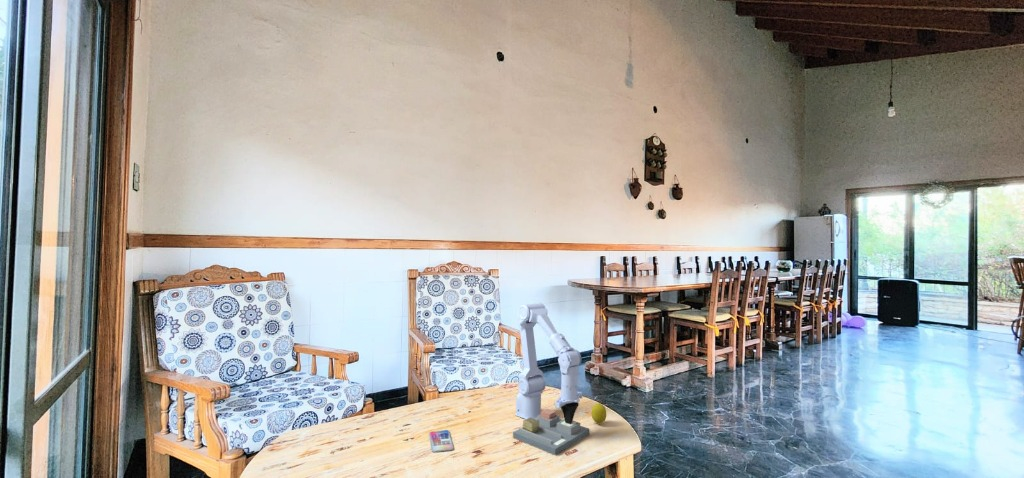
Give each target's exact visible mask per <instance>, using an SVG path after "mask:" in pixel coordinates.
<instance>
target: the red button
mask: <svg viewBox="0 0 1024 478" xmlns="http://www.w3.org/2000/svg"><path fill="white" fill-rule="evenodd" d="M556 415H557V412H556V411H555V410H552V409H549V408H545V409H544V410H541V417H543V418H546V419H549V420H550V419H552V418H554V417H556Z"/></svg>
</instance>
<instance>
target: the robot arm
mask: <svg viewBox="0 0 1024 478" xmlns="http://www.w3.org/2000/svg"><path fill="white" fill-rule="evenodd" d="M517 318H518V325H519V335H520V343H521V353H522V362H523V370H522V371H521V372H520V373H519V374H518V390H519V392H518V393H517V395H516V401H515V406H516V407H515V409H516V410H515V413H514V416H516V417H519V418H522V419H524V420H525V419H528V418H530V417H531V418H534V419H537V416H538V415H540V414H541V411H542V394H543V393H544V392H543V391H544V390H546V387H547V384H546V383H547V382H546V380H545V377H544V372H543V371H542V370H541V369H540V368H539V367H538V360H537V351H536V342H535V332H534V327H535V326H536V324H538V325H539V326H540V328H541V329H542V330H543V332H544V333H546V335H547V336H548V337H549V340H548V341H549V345H550V346H551V348H552V349H553V350H554V352H555V354H556V356H557V357H558V358H557V361H558V365H559V371H560V373H561V378H560V379H561V380H560V381H561V382H560V383H561V386H560V396H559V398H558V399H557V400H555V402H554V408H556V409H559V410H560V409H561V412H562V415H563V420H564V419H565V423H568V424H571V423H572V421H574V417H575V415H576V414H575V413H576V412H577V409H578V407H579V405H580V404H579V402H580V400H581V399H583V392H581V391H578V378H579V377H578V375H579V374H578V373H579V368H578V366H580V365H581V363H582V355H581V353H580V351H579V350H578V349H575V348H574V347H572V346H571V345H570V343H569V342H568V341H567V339H566V338H565V335H563V334H562V333H559V332H557V330H556V328H555V326H554V325H553V323H552V321H551V319H550V317H549V316H548V309H547V308H546V306H545V305H544V304H543V303H542V302H538V303H528V304H521V305H520V306H519V308H518V309H517Z"/></svg>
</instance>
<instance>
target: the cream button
mask: <svg viewBox="0 0 1024 478" xmlns="http://www.w3.org/2000/svg"><path fill="white" fill-rule="evenodd" d="M573 421H574V420H573ZM573 421H572V423H571V424H568V423H565V421H563V422H561V424H563V425H566V426H569V427H572V426H573V425H575V424H576V422H577V421H576V422H573Z"/></svg>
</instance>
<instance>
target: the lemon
mask: <svg viewBox="0 0 1024 478" xmlns="http://www.w3.org/2000/svg"><path fill="white" fill-rule="evenodd" d="M591 419H592V420H593V421H594V422H595V423H596V424H597V425H600V424H603V423H604V422H605V421H606V419H607V410H606V407H605V405H603V404H601V403H600V402H599V403H596V404H594V405H593V406H592V408H591Z"/></svg>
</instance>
